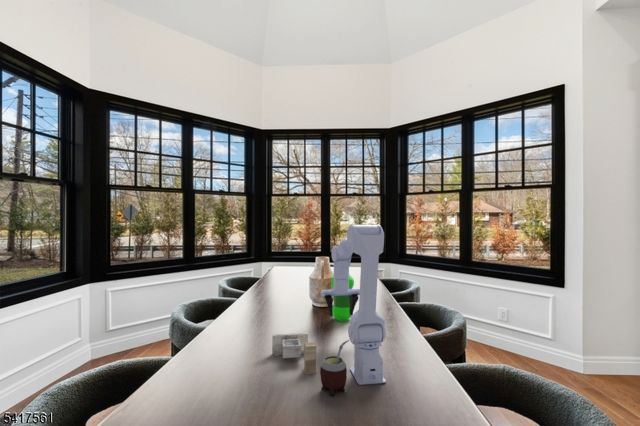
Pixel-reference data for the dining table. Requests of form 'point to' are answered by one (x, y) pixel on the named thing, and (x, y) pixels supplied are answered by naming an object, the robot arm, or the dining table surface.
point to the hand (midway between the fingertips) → (341, 315)
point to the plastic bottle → (342, 303)
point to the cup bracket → (289, 344)
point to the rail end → (309, 357)
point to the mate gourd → (334, 373)
